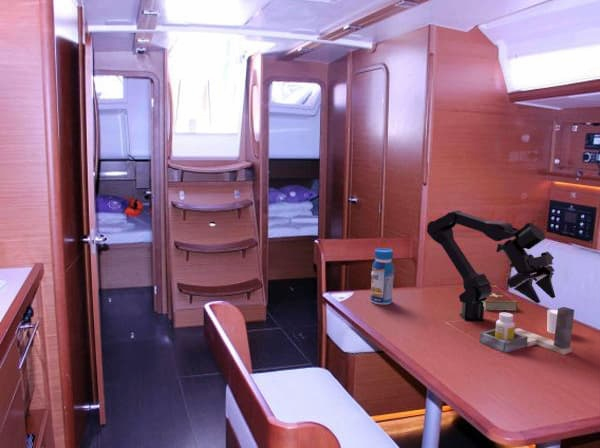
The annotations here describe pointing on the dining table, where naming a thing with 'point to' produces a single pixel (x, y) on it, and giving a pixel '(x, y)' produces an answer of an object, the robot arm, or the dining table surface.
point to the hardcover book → (499, 300)
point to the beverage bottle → (382, 277)
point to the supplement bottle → (505, 327)
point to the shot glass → (551, 320)
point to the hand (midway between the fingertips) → (546, 300)
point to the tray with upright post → (536, 336)
